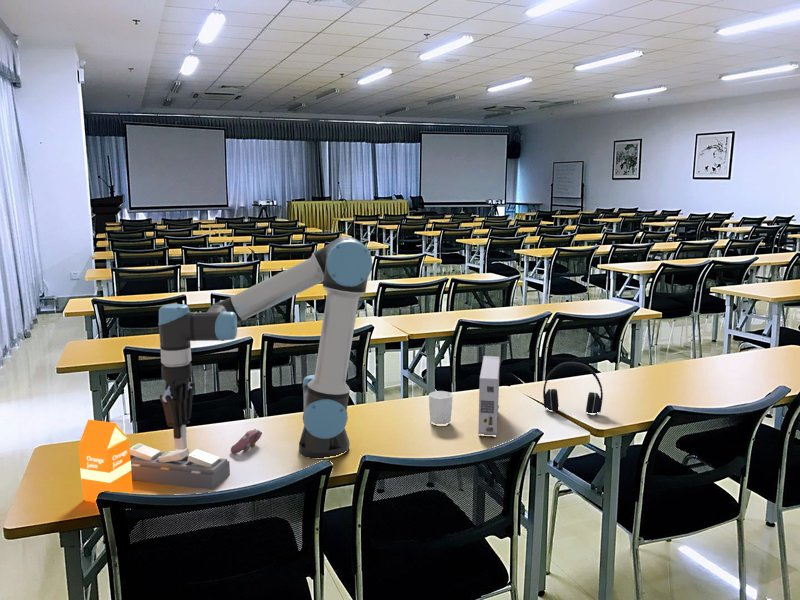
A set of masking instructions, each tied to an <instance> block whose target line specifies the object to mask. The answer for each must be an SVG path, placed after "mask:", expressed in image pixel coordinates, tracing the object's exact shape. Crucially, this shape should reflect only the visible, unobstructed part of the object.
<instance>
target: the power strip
mask: <svg viewBox="0 0 800 600" xmlns="http://www.w3.org/2000/svg"><path fill="white" fill-rule="evenodd" d="M164 453H165V451H161V452H160V456H161V455H162V454H164ZM187 460H188V455H187V456H186V457H185V458H183V459H182V460H177V461H170V462H159V461H158V458H156V459H155V460H153V461H147V460H144V459H141V458H138V457H136V456H133V455H130V461H131V475H132V481H139V482H140V481H141V482H148V483H155V484H163V485H172V486H178V487H179V486H180V487H181V486H182V487H188V488H195V489H197V488H198V489H203V490H204V489H205V490H215V489H216V488H217V487H218V486H219V485H221V483H222V482H223V481H225V480H226V479H227V478H229V476H230V475H231V469H230V467H231V465H230V461H229V460H228V458H221V457H219V463H218V464H217V465H215V466H214V467H213V468H208V467H204V466H201V465H198V464H196V463H193V462H190V461H187Z"/></svg>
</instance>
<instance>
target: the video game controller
mask: <svg viewBox="0 0 800 600" xmlns="http://www.w3.org/2000/svg"><path fill="white" fill-rule="evenodd" d="M262 435H263V432H262V431H260V430H258V429H256V428H254V429H253V430H251V429H250V430H248V431H246V432H245V434H244V435H243V436H242V437H241V438H240V439H239V440H238V441H237V442H236V443H235V444H234V445H232V446H231V447H230V452H231V454H239V453H241V452H242V451H243V452H247V451H248V450H249V449H250V448H251V449H252V448H253V447H255V445H256V443H257V442H258V441H259V440H260V439H261V437H262Z"/></svg>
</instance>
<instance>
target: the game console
mask: <svg viewBox="0 0 800 600" xmlns="http://www.w3.org/2000/svg"><path fill="white" fill-rule="evenodd" d="M500 359H501V358H500V356H492V355H489V356H488V355H483V358H482V364H481V369H480V375H479V386H478V387H479V388H478V389H479V391H478V392H479V393H478V394H479V397H478V398H479V399H478V429H477V431H478V435H479V434H484V435H496V434H497V435H498V420H497V418H499V409H500V405H499V392H500V367H501V361H500ZM497 435H496V436H497Z"/></svg>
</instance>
